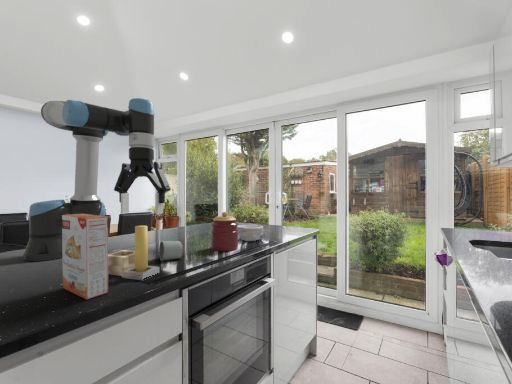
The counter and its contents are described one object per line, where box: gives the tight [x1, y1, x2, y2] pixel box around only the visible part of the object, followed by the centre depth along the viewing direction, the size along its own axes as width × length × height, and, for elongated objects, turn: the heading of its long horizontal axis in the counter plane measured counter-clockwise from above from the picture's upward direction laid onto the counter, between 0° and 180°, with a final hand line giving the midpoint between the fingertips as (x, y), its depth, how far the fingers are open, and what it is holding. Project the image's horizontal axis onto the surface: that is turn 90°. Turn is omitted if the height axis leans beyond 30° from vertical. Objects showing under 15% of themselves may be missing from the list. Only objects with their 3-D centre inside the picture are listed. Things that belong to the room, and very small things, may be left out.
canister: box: [210, 211, 239, 252], centre depth 129 cm, size 13×13×18 cm
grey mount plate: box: [121, 265, 160, 281], centre depth 88 cm, size 8×8×2 cm
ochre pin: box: [134, 225, 149, 272], centre depth 88 cm, size 4×4×16 cm
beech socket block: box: [108, 249, 135, 277], centre depth 92 cm, size 9×9×6 cm
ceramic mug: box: [158, 240, 184, 262], centre depth 110 cm, size 11×8×8 cm
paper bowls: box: [237, 224, 264, 242], centre depth 152 cm, size 15×15×8 cm
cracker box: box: [62, 214, 109, 300], centre depth 73 cm, size 14×6×21 cm, turn 56°
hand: (141, 213), depth 87 cm, fingers open, 13 cm apart
